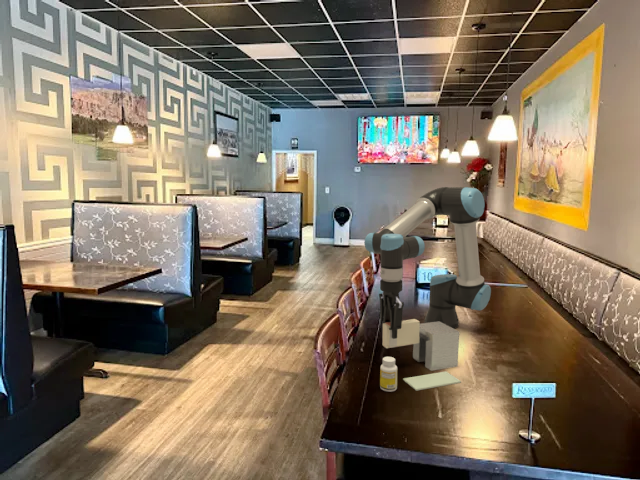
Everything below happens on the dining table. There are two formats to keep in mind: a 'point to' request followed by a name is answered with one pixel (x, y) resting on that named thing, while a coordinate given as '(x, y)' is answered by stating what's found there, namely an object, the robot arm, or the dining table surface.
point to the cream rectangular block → (403, 333)
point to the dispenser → (437, 346)
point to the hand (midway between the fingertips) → (390, 344)
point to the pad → (431, 380)
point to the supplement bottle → (388, 374)
